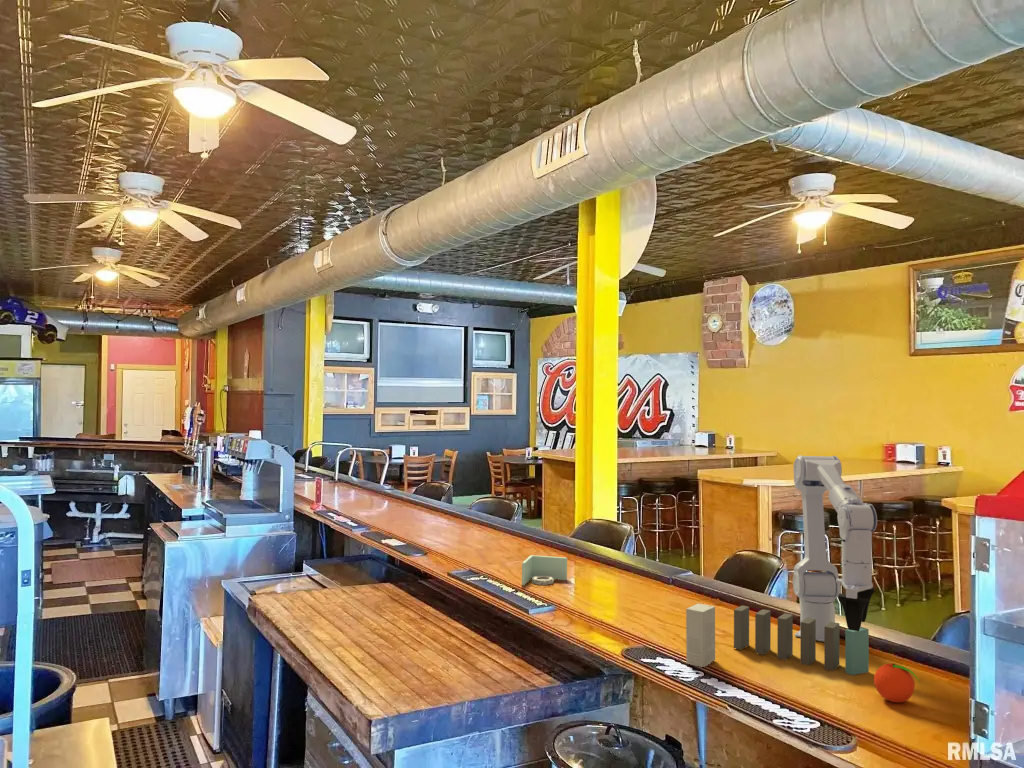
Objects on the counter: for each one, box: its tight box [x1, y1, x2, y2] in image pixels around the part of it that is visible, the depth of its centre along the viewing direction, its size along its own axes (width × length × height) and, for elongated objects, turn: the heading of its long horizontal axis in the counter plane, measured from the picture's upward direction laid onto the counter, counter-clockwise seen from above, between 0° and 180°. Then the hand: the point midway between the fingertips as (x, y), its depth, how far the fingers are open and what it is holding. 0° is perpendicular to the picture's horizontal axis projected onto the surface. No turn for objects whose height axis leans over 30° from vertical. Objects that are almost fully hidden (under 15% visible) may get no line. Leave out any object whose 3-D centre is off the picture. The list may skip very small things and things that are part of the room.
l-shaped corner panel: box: [521, 554, 568, 586], centre depth 233 cm, size 12×12×8 cm
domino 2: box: [754, 608, 772, 656], centre depth 170 cm, size 2×5×9 cm, turn 142°
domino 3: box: [776, 612, 794, 661], centre depth 167 cm, size 2×5×9 cm, turn 142°
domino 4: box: [799, 617, 817, 666], centre depth 164 cm, size 2×5×9 cm, turn 142°
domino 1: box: [733, 605, 750, 651], centre depth 173 cm, size 2×5×9 cm, turn 142°
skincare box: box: [685, 603, 716, 668], centre depth 162 cm, size 6×4×12 cm
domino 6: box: [844, 626, 870, 676], centre depth 157 cm, size 2×5×9 cm, turn 115°
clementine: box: [873, 662, 921, 703], centre depth 142 cm, size 8×7×7 cm
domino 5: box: [823, 621, 840, 672], centre depth 160 cm, size 2×5×9 cm, turn 142°
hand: (856, 625), depth 158 cm, fingers open, 7 cm apart
